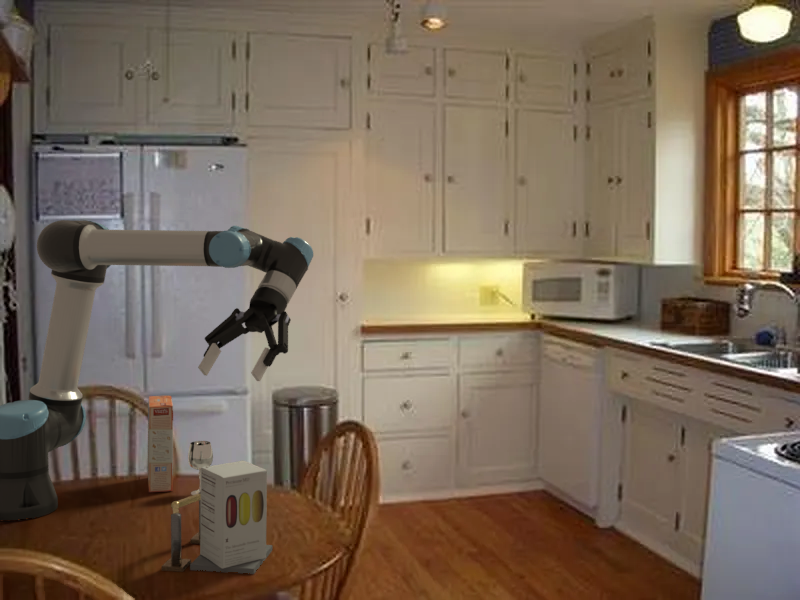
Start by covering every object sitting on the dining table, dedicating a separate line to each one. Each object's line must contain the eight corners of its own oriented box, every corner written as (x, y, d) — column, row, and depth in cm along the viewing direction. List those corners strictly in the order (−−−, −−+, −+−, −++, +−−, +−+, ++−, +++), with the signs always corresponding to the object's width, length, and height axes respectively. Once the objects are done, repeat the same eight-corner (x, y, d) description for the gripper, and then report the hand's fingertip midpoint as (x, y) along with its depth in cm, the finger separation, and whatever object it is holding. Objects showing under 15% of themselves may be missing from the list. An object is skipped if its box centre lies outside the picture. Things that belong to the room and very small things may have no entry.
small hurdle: (152, 569, 155) (151, 516, 154) (189, 535, 173) (189, 487, 172) (182, 571, 154) (182, 517, 153) (216, 537, 172) (216, 488, 171)
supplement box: (221, 570, 152) (221, 477, 151) (198, 554, 160) (198, 466, 158) (268, 557, 158) (268, 469, 157) (244, 543, 166) (243, 458, 164)
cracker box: (174, 491, 202) (173, 404, 200) (148, 493, 200) (147, 406, 199) (172, 476, 215) (172, 394, 214) (148, 477, 214) (147, 395, 212)
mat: (190, 570, 155) (190, 564, 155) (213, 546, 167) (212, 541, 167) (253, 574, 153) (253, 568, 153) (272, 550, 165) (272, 545, 165)
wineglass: (189, 489, 204) (189, 440, 203) (214, 489, 204) (214, 440, 204) (186, 496, 198) (186, 446, 197) (211, 496, 199) (211, 445, 198)
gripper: (327, 310, 182) (286, 390, 170) (234, 305, 194) (190, 380, 181) (313, 287, 177) (270, 368, 165) (219, 283, 188) (172, 358, 176)
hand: (228, 374), depth 173 cm, fingers open, 13 cm apart
